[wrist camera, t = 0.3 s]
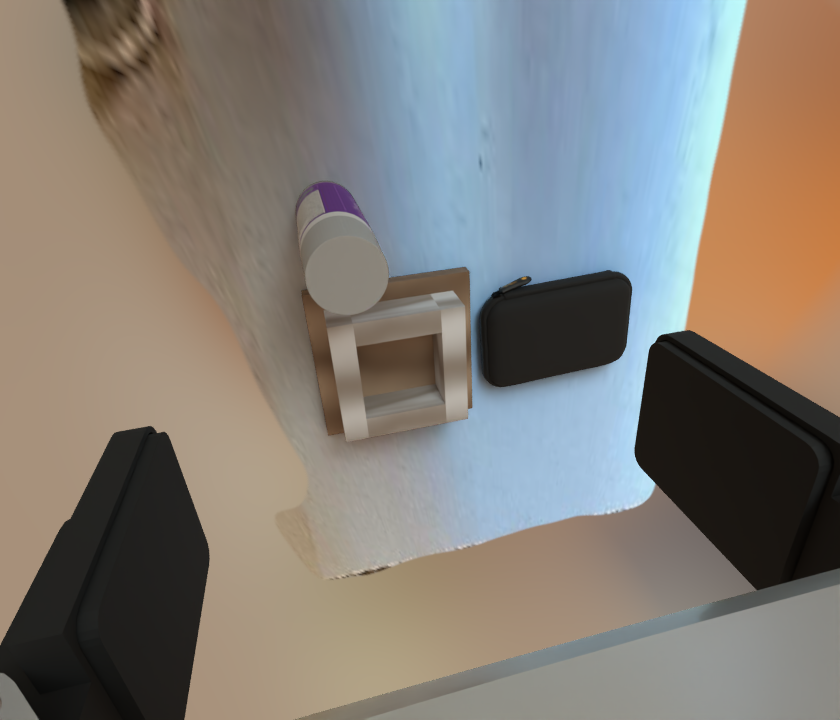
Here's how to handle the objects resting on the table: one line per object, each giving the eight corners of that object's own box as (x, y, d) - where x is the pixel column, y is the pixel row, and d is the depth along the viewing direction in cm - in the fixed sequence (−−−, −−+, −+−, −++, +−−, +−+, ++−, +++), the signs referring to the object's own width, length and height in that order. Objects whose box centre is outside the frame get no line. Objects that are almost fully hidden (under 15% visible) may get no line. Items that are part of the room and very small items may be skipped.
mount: (301, 290, 43) (303, 313, 39) (465, 266, 45) (482, 285, 41) (327, 428, 50) (331, 459, 46) (468, 401, 52) (484, 428, 48)
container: (368, 206, 41) (408, 266, 28) (334, 253, 42) (357, 332, 29) (318, 167, 39) (336, 214, 26) (283, 218, 40) (284, 287, 27)
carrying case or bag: (624, 252, 49) (472, 280, 47) (643, 262, 46) (484, 292, 44) (615, 352, 54) (478, 381, 52) (632, 366, 51) (489, 397, 49)
